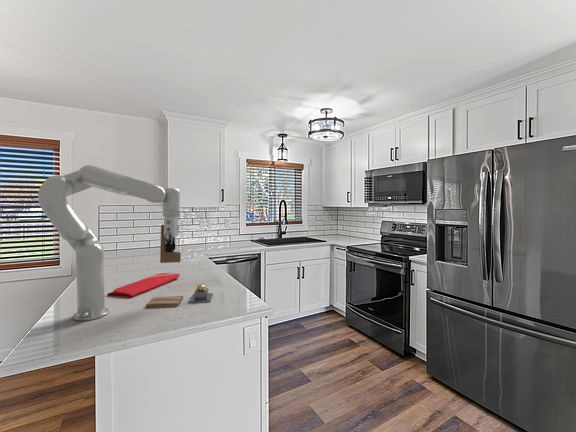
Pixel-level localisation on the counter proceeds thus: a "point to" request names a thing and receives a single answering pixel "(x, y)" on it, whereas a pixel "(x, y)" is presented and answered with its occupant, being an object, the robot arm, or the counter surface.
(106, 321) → the counter surface
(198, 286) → the button
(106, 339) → the counter surface
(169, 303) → the board
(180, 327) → the counter surface
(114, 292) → the dish drying mat
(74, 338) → the counter surface
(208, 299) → the plate
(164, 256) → the wooden block
